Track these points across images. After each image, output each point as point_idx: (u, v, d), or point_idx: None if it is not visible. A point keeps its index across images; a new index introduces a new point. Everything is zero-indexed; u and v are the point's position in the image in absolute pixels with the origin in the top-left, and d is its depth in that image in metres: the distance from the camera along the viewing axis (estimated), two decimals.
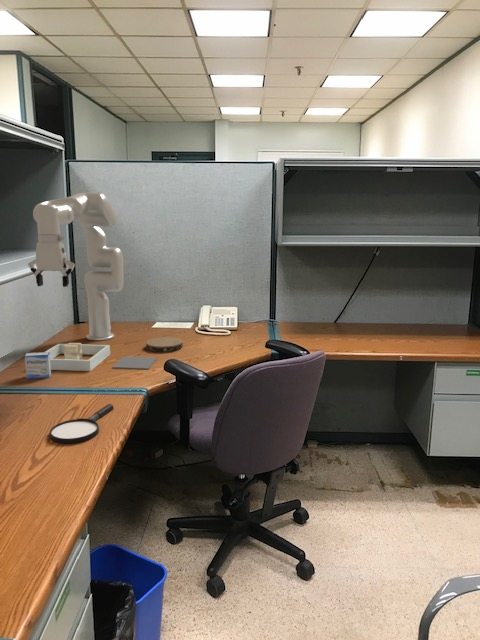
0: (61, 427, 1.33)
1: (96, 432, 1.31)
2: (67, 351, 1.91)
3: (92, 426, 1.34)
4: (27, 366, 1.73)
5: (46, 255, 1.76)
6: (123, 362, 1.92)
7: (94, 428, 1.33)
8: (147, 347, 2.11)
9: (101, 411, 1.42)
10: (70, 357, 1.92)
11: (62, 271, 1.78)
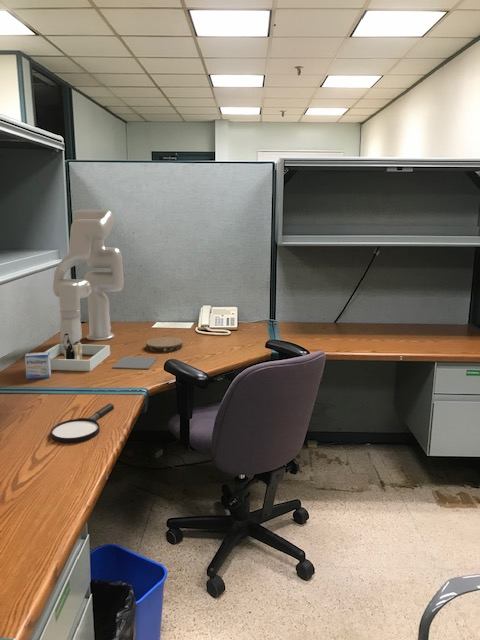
0: (62, 427, 1.34)
1: (97, 431, 1.31)
2: None
3: (93, 425, 1.34)
4: (27, 366, 1.73)
5: (77, 328, 1.91)
6: (123, 362, 1.92)
7: (95, 427, 1.33)
8: (147, 347, 2.11)
9: (102, 411, 1.43)
10: None
11: (79, 342, 1.96)
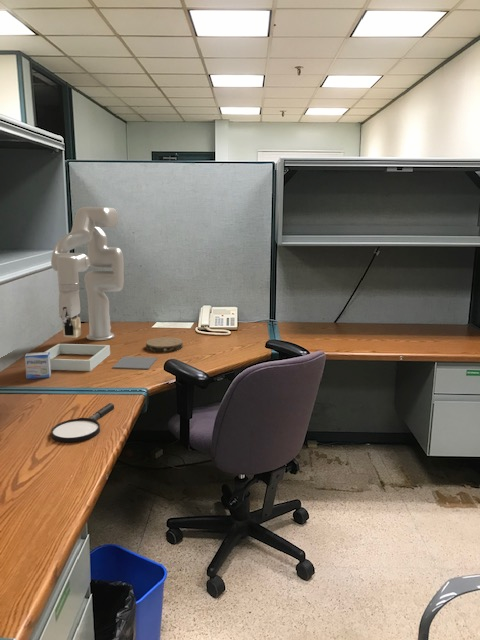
0: (62, 426, 1.34)
1: (97, 431, 1.31)
2: None
3: (93, 425, 1.35)
4: (27, 366, 1.73)
5: (76, 302, 1.89)
6: (123, 362, 1.92)
7: (95, 427, 1.33)
8: (147, 347, 2.11)
9: (102, 410, 1.43)
10: None
11: (77, 316, 1.94)
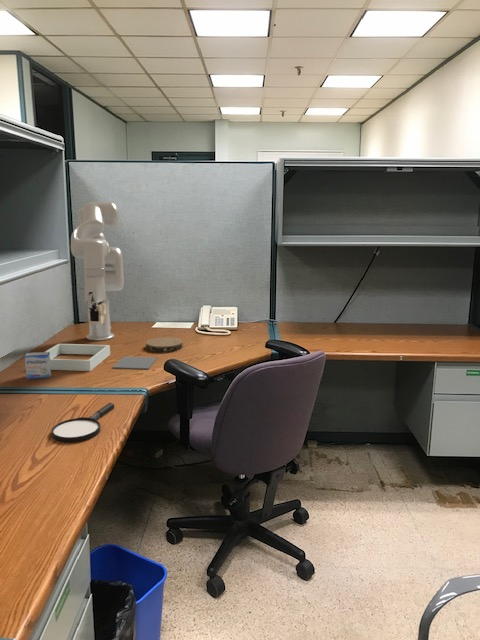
0: (63, 426, 1.34)
1: (98, 431, 1.31)
2: None
3: (93, 425, 1.35)
4: (27, 366, 1.73)
5: (101, 287, 1.87)
6: (123, 362, 1.92)
7: (96, 427, 1.33)
8: (147, 347, 2.11)
9: (102, 410, 1.43)
10: None
11: (103, 303, 1.92)
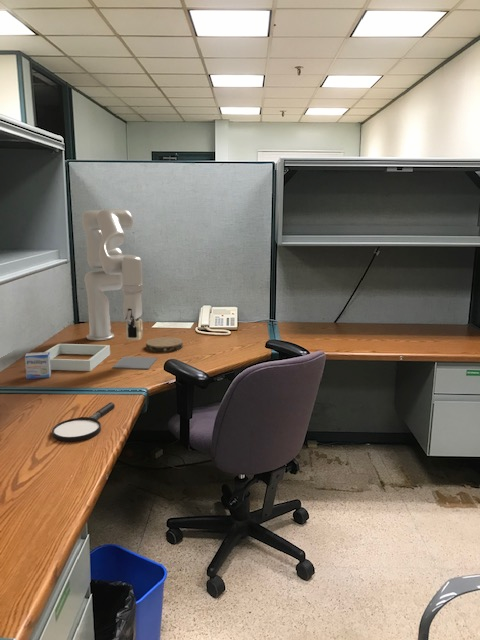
0: (63, 426, 1.34)
1: (98, 430, 1.32)
2: None
3: (94, 424, 1.35)
4: (27, 366, 1.73)
5: (139, 303, 1.87)
6: (123, 362, 1.92)
7: (96, 426, 1.34)
8: (147, 347, 2.11)
9: (102, 410, 1.43)
10: None
11: None
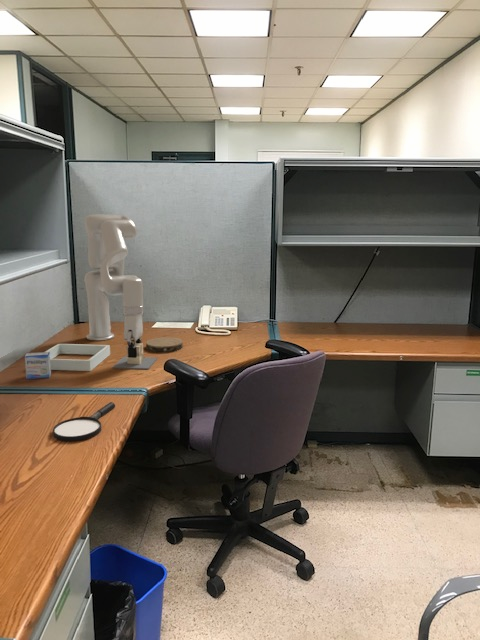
0: (64, 425, 1.34)
1: (99, 430, 1.32)
2: None
3: (94, 424, 1.35)
4: (27, 366, 1.73)
5: (140, 324, 1.89)
6: (123, 362, 1.92)
7: (96, 426, 1.34)
8: (147, 347, 2.11)
9: (103, 409, 1.44)
10: (132, 358, 1.90)
11: (140, 337, 1.94)
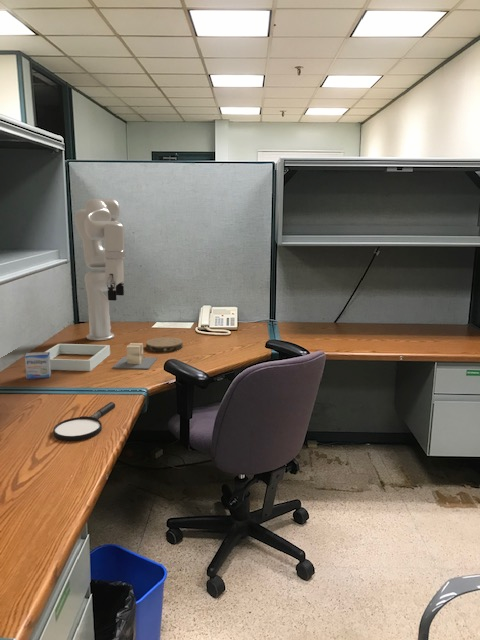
0: (64, 425, 1.35)
1: (99, 430, 1.32)
2: (129, 351, 1.89)
3: (95, 424, 1.35)
4: (27, 366, 1.73)
5: (121, 269, 1.93)
6: (123, 362, 1.92)
7: (97, 426, 1.34)
8: (147, 347, 2.11)
9: (103, 409, 1.44)
10: (132, 358, 1.90)
11: (122, 281, 1.99)
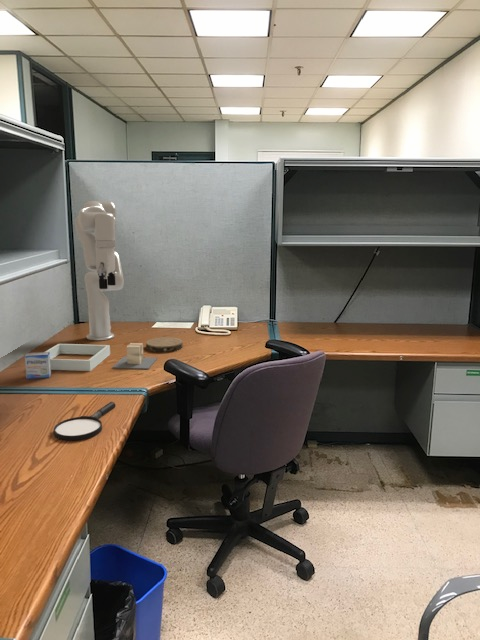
0: (64, 425, 1.35)
1: (99, 429, 1.32)
2: (129, 351, 1.89)
3: (95, 423, 1.36)
4: (27, 366, 1.73)
5: (112, 258, 1.96)
6: (123, 362, 1.92)
7: (97, 425, 1.34)
8: (147, 347, 2.11)
9: (103, 409, 1.44)
10: (132, 358, 1.90)
11: (114, 271, 2.03)
